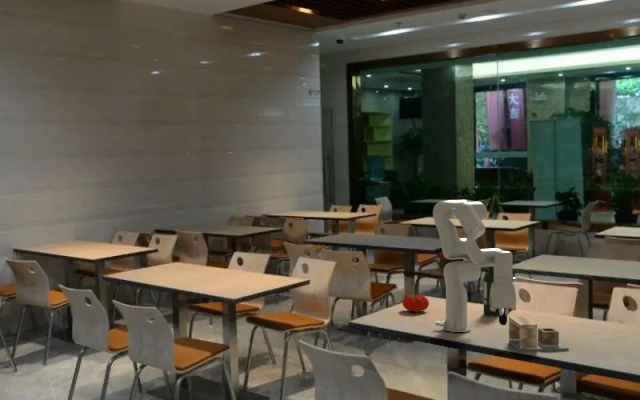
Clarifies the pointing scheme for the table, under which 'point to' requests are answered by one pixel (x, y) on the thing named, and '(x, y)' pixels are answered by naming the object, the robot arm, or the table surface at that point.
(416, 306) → the tomato
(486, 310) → the wine bottle
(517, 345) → the board
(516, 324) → the tan wooden block
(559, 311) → the table surface
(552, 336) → the brown wooden cube
